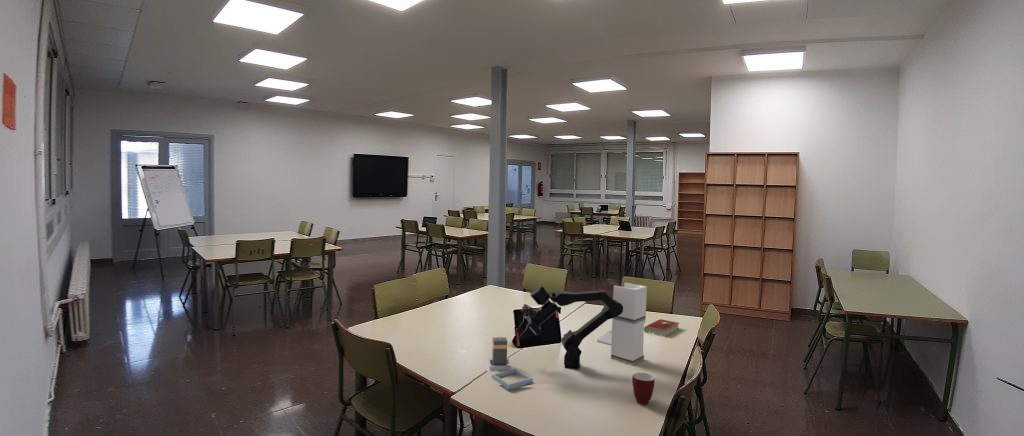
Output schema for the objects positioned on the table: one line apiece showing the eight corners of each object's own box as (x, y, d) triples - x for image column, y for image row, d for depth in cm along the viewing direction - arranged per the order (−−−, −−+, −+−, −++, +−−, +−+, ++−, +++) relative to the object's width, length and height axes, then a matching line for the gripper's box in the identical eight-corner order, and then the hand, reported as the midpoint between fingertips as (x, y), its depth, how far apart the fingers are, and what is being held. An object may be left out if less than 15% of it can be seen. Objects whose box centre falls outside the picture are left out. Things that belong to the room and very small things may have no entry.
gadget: (621, 349, 239) (622, 342, 239) (596, 342, 249) (596, 335, 249) (642, 339, 256) (642, 332, 256) (617, 333, 266) (618, 326, 266)
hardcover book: (643, 333, 267) (644, 325, 267) (659, 325, 283) (659, 318, 283) (664, 337, 259) (664, 330, 259) (679, 329, 275) (679, 322, 275)
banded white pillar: (643, 359, 224) (646, 286, 222) (632, 365, 216) (635, 289, 214) (622, 353, 232) (625, 282, 230) (610, 358, 224) (613, 285, 222)
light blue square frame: (515, 374, 203) (515, 368, 203) (532, 384, 193) (532, 378, 193) (491, 380, 196) (491, 374, 196) (508, 390, 186) (508, 384, 186)
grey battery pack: (505, 363, 212) (506, 334, 211) (506, 367, 207) (507, 337, 206) (491, 363, 211) (492, 334, 210) (492, 368, 206) (493, 338, 205)
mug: (635, 393, 187) (636, 368, 186) (656, 398, 183) (657, 372, 182) (629, 404, 177) (630, 378, 177) (651, 409, 174) (652, 382, 173)
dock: (511, 363, 215) (511, 358, 215) (514, 372, 205) (514, 366, 205) (484, 364, 213) (485, 358, 213) (486, 372, 203) (486, 367, 203)
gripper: (530, 294, 219) (504, 316, 218) (536, 304, 200) (508, 328, 200) (545, 311, 220) (519, 333, 220) (552, 323, 201) (525, 347, 201)
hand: (517, 335), depth 210 cm, fingers open, 9 cm apart
